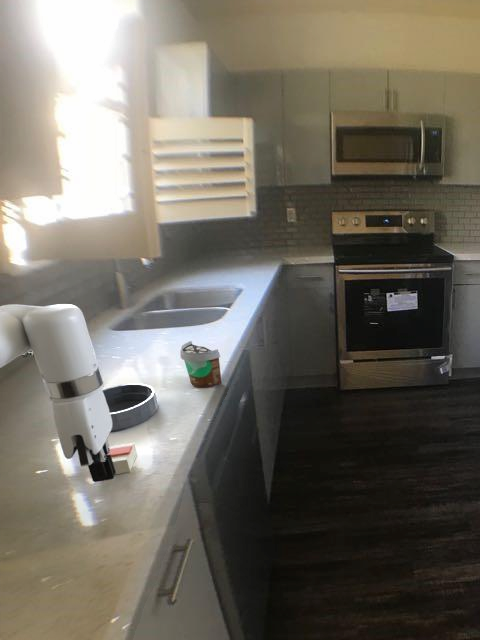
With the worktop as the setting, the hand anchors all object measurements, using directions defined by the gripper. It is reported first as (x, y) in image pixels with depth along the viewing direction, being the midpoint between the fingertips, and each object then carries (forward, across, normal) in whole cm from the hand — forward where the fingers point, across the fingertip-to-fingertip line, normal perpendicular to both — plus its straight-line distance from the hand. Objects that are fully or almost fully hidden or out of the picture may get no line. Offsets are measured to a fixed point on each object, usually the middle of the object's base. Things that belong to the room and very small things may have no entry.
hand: (104, 477), depth 79 cm
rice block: (+3, -8, 0) cm, 9 cm away
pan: (+3, -29, -4) cm, 30 cm away
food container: (+3, -41, +12) cm, 43 cm away
